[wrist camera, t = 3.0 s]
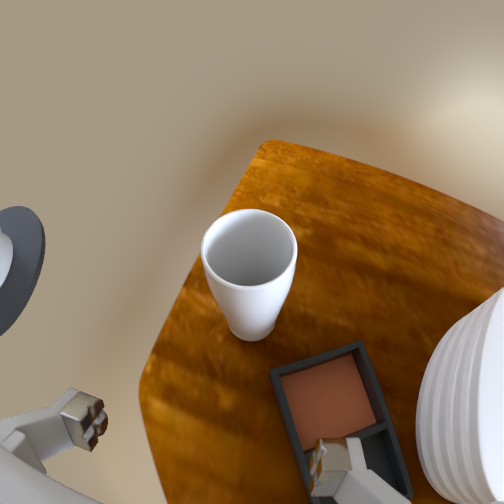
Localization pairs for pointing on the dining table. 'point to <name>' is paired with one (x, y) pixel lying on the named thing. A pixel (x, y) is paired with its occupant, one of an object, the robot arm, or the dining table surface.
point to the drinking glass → (249, 269)
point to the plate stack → (465, 409)
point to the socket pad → (339, 413)
